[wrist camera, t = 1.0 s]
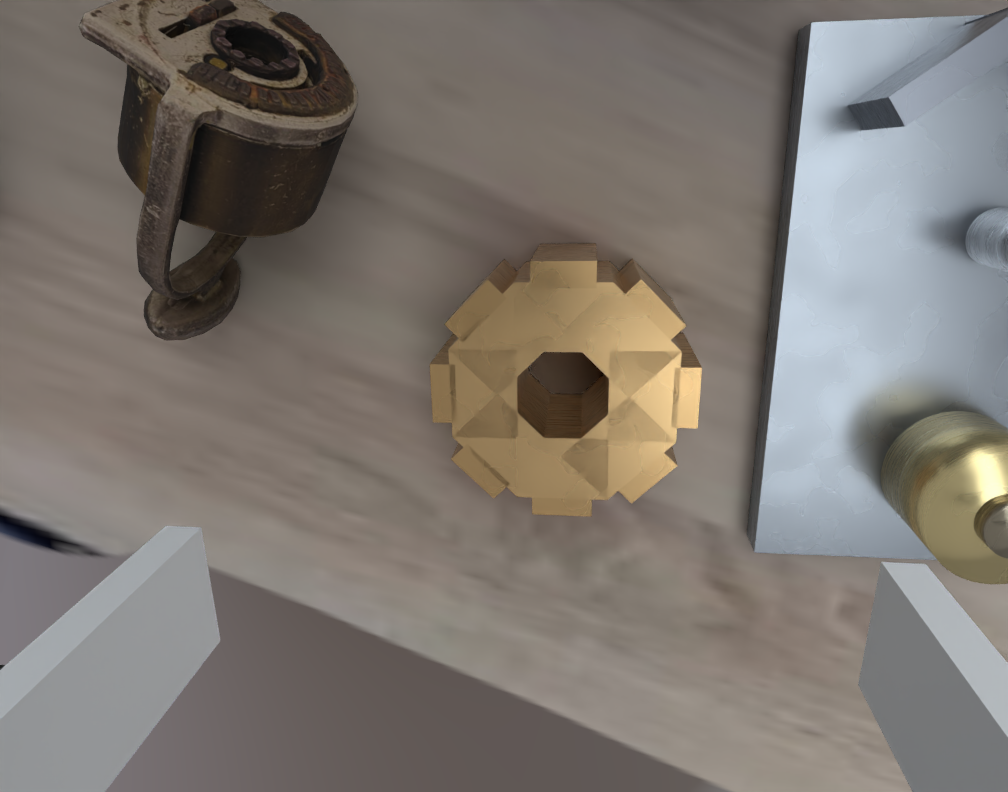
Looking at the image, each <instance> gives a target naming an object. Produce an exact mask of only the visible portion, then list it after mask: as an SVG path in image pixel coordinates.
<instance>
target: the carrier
mask: <svg viewBox="0 0 1008 792" xmlns="http://www.w3.org/2000/svg"><path fill="white" fill-rule="evenodd" d="M747 536H748V538H749V541H750V543H751V545H752V548H753V550H754V552H758V553H782V554H806V555H830V556H853V557H877V558H901V559H925V560H938V561H939V562H940V563H941V564H942V565H943V566H944V567H945V568H946V569H947V570H949V571H950V572H952V573H953V574H955V575H957V576H959V577H961V578H963V579H966V580H969V581H973V582H978V583H984V584H1007V583H1008V8H1006V9H1003V10H1000V11H997V12H995V13H992V14H989V15H975V16H951V17H927V18H903V19H880V20H856V21H832V22H811V23H810V24H808V25H806V26H805V27H803V28H801V29H800V30H799V33H798V43H797V53H796V62H795V72H794V82H793V92H792V101H791V111H790V121H789V130H788V140H787V150H786V160H785V169H784V179H783V189H782V198H781V208H780V218H779V228H778V237H777V247H776V257H775V266H774V276H773V286H772V295H771V305H770V315H769V325H768V334H767V344H766V354H765V363H764V373H763V383H762V393H761V402H760V412H759V422H758V431H757V441H756V451H755V461H754V470H753V480H752V490H751V499H750V509H749V519H748V529H747Z"/></svg>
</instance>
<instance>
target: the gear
mask: <svg viewBox="0 0 1008 792" xmlns="http://www.w3.org/2000/svg"><path fill="white" fill-rule="evenodd" d="M444 325H445V326H446V327H448V328H449V329H450V330H451V331H452V332H453V335H452V336H451V337H450V339H449V340H448V341H447V342H446V344H445V345H444V346H443V348H442V349H441V350H440V352H439V353H438V354H437V355H436V357H435V358H434V359H433V361H432V362H431V363H430V379H431V397H432V415H433V422H437V423H452V436H453V438H454V439H455V440H456V441H457V442H458V445H457V447H456V449H455V451H454V454H453V456H452V458H451V460H452V461H453V462H454V463H455V464H457V465H458V466H459V467H460V468H461V469H462V470H463V471H464V472H465V473H466V474H467V475H469V476H470V477H471V478H472V479H473V480H474V481H475V482H476V483H477V484H478V485H479V486H480V487H482V488H483V489H484V490H485V491H486V492H487V493H488V494H489V495H490V496H491V497H492V498H495V497H496V496H497V495H498V494H499V493H500V492H502V491H503V490H504V489H505V488H506V487H507V488H508V489H509V490H510V491H511V492H512V493H513V494H515V495H516V496H517V497H532V514H537V515H564V516H591V513H592V500H608V499H609V498H610V497H611V496H613V495H614V494H615V493H616V492H617V491H619V492H620V493H621V494H622V495H623V496H624V497H625V498H626V499H627V500H629V501H630V502H631V503H633V502H634V501H635V500H636V499H638V498H639V497H640V496H641V495H642V494H644V493H645V492H646V491H647V490H649V489H650V488H651V487H652V486H653V485H655V484H656V483H657V482H658V481H659V480H661V479H662V478H663V477H664V476H666V475H667V474H668V473H669V472H670V471H672V470H673V469H674V468H675V467H677V462H676V459H675V455H674V452H673V448H672V446H673V445H674V444H675V443H676V435H677V428H698V414H699V401H700V387H701V373H702V367H701V365H700V363H699V361H698V360H697V358H696V356H695V354H694V352H693V350H692V348H691V346H690V345H689V343H688V341H687V339H686V337H685V335H684V333H679V332H680V331H681V330H682V329H684V328H685V327H686V324H685V322H684V321H683V319H682V317H681V315H680V314H679V312H678V310H677V308H676V307H675V305H674V303H673V302H672V300H671V298H670V297H669V296H668V295H667V294H666V293H665V292H664V291H663V290H662V289H661V288H660V287H659V285H658V284H657V283H656V282H655V281H654V280H653V279H652V278H651V277H650V276H649V275H648V274H647V273H646V272H645V271H644V270H643V269H642V268H641V267H640V266H639V265H638V264H637V263H636V262H635V261H634V260H633V259H631V260H630V261H629V262H628V263H627V264H626V265H625V266H624V267H623V268H622V269H621V270H620V271H619V270H618V269H617V268H616V267H615V266H614V265H613V264H612V263H611V262H610V261H597V253H596V243H578V244H540V245H539V247H538V248H537V250H536V252H535V254H534V256H533V257H532V259H531V261H530V262H525V264H524V265H523V266H522V267H521V268H520V269H519V270H518V271H516V270H515V269H514V268H513V267H512V266H511V265H510V264H509V263H508V262H507V261H506V260H505V259H504V260H503V261H502V262H501V263H500V264H499V265H498V266H497V267H496V268H495V270H494V271H493V272H492V273H491V274H490V275H489V276H488V277H487V278H486V279H485V280H484V281H483V282H482V283H481V284H480V285H479V286H478V287H477V288H476V289H475V290H474V291H473V292H472V293H471V295H470V296H469V297H468V298H467V299H466V300H465V301H464V302H463V303H462V305H461V306H460V307H459V308H458V309H457V310H456V312H455V313H454V314H453V315H452V316H451V317H450V318H449V320H448V321H447V322H446V323H445V324H444ZM543 352H582V353H583V354H584V355H586V356H587V357H588V358H589V359H590V360H591V361H592V362H593V363H594V364H595V365H596V366H597V367H598V368H599V369H600V370H601V371H602V372H603V373H604V375H603V376H602V377H601V378H599V379H598V380H597V381H596V382H595V383H594V384H593V385H592V386H591V387H590V388H588V389H587V390H586V391H585V392H584V393H583V394H551V393H550V392H549V391H548V390H547V389H546V388H545V387H543V386H542V385H541V384H540V383H539V382H538V381H537V380H536V379H535V378H534V377H533V376H532V375H531V374H530V373H529V365H530V364H531V363H532V362H534V361H535V360H536V359H537V358H538V357H539V356H540V355H541V354H542V353H543Z"/></svg>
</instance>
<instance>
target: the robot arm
mask: <svg viewBox="0 0 1008 792" xmlns="http://www.w3.org/2000/svg"><path fill="white" fill-rule="evenodd" d="M219 642H220V635H219V629H218V623H217V617H216V611H215V605H214V599H213V594H212V589H211V583H210V576H209V570H208V564H207V558H206V552H205V546H204V540H203V534H202V529H201V527H181V526H165V527H164V528H163V529H162V530H160V531H159V532H158V533H157V534H156V535H155V536H154V537H152V538H151V539H150V540H149V541H148V542H147V543H146V544H144V545H143V546H142V547H141V548H140V549H139V550H138V551H136V552H135V553H134V554H133V555H132V556H131V557H129V558H128V559H127V560H126V561H125V562H124V563H123V564H121V565H120V566H119V567H118V568H117V569H116V570H115V571H114V572H112V573H111V574H110V575H109V576H108V577H106V578H105V579H104V580H103V581H102V582H101V583H100V584H98V585H97V586H96V587H95V588H94V589H93V590H92V591H90V592H89V593H88V594H87V595H86V596H85V597H84V598H82V599H81V600H80V601H79V602H78V603H77V604H76V605H74V607H72V608H71V609H70V610H69V611H67V612H66V613H65V614H64V615H63V616H62V617H61V618H59V619H58V620H57V621H56V622H55V623H54V624H53V625H51V626H50V627H49V628H48V629H47V630H46V631H44V632H43V633H42V634H41V635H40V636H39V637H38V638H36V640H34V641H33V642H32V643H31V644H29V645H28V646H27V647H26V648H25V649H24V650H23V651H21V652H20V653H19V654H18V655H17V656H16V657H15V658H13V659H12V660H11V661H10V662H9V663H8V664H7V665H0V792H105V791H106V790H107V789H108V787H109V786H110V785H111V783H112V782H113V781H114V779H115V778H116V777H117V776H118V774H119V773H120V772H121V770H122V769H123V768H124V766H125V765H126V764H127V762H128V761H129V760H130V758H131V757H132V756H133V755H134V753H135V752H136V751H137V749H138V748H139V747H140V745H141V744H142V743H143V741H144V740H145V739H146V738H147V736H148V735H149V734H150V732H151V731H152V730H153V728H154V727H155V726H156V724H157V723H158V722H159V720H160V719H161V718H162V717H163V715H164V714H165V712H166V711H167V710H168V709H169V707H170V706H171V705H172V703H173V702H174V701H175V700H176V698H177V697H178V695H179V694H180V693H181V692H182V690H183V689H184V688H185V686H186V685H187V684H188V683H189V681H190V680H191V678H192V677H193V676H194V674H195V673H196V672H197V671H198V669H199V668H200V667H201V665H202V664H203V663H204V662H205V660H206V659H207V658H208V656H209V655H210V653H211V652H212V651H213V650H214V648H215V647H216V646H217V644H218V643H219ZM858 685H859V687H860V689H861V691H862V693H863V695H864V697H865V699H866V701H867V703H868V705H869V707H870V709H871V711H872V713H873V715H874V717H875V719H876V721H877V723H878V725H879V727H880V729H881V731H882V733H883V734H884V736H885V738H886V740H887V742H888V744H889V746H890V748H891V750H892V752H893V754H894V756H895V758H896V760H897V762H898V764H899V766H900V768H901V770H902V772H903V774H904V776H905V778H906V780H907V782H908V784H909V786H910V787H911V789H912V791H913V792H1008V663H1007V662H1006V661H1005V659H1004V658H1003V657H1002V656H1001V655H1000V653H999V652H998V651H997V650H996V648H995V647H994V646H993V645H992V644H991V642H990V641H989V640H988V639H987V638H986V636H985V635H984V634H983V633H982V632H981V630H980V629H979V628H978V627H977V625H976V624H975V623H974V622H973V621H972V619H971V618H970V617H969V616H968V615H967V613H966V612H965V611H964V610H963V609H962V607H961V606H960V605H959V604H958V602H957V601H956V600H955V599H954V598H953V596H952V595H951V594H950V593H949V592H948V590H947V589H946V588H945V587H944V586H943V584H942V583H941V582H940V581H939V579H938V578H937V577H936V576H935V575H934V573H933V572H932V571H931V570H930V569H929V567H928V566H927V565H926V564H915V563H895V562H881V565H880V571H879V576H878V582H877V587H876V592H875V598H874V603H873V608H872V614H871V619H870V625H869V630H868V635H867V641H866V646H865V651H864V657H863V662H862V667H861V673H860V678H859V684H858Z"/></svg>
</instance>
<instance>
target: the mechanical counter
mask: <svg viewBox="0 0 1008 792" xmlns="http://www.w3.org/2000/svg"><path fill="white" fill-rule="evenodd" d="M79 29H80V31H81V33H82V35H83V36H84V37H85V38H86V39H88V40H90V41H92V42H94V43H95V44H97V45H99V46H101V47H103V48H104V49H106V50H107V51H109V52H110V53H112V54H113V55H115V56H116V57H118V58H119V59H121V60H122V61H123V62H125V63H126V64H127V79H126V86H125V92H124V98H123V105H122V112H121V120H120V127H119V134H118V154H119V159H120V162H121V163H122V165H123V167H124V169H125V171H126V173H127V174H128V176H129V177H130V178H131V180H132V181H133V182H134V184H135V185H136V186H137V187H138V188H139V189H140V191H141V192H142V193H143V194H144V195H145V197H144V202H143V206H142V210H141V215H140V220H139V227H138V234H137V257H138V267H139V272H140V274H141V276H142V277H143V278H144V279H145V281H146V282H147V283H148V284H149V285H150V286H151V287H152V288H153V290H152V291H151V293H150V294H149V296H148V297H147V299H146V300H145V305H144V318H145V320H146V323H147V326H148V328H149V329H150V330H151V331H152V332H153V334H154V335H155V336H156V337H159V338H161V339H164V340H185V339H188V338H191V337H194V336H197V335H200V334H204V333H205V332H207V331H208V330H210V329H212V328H213V327H215V326H216V325H218V324H220V323H221V322H222V321H223V320H224V318H225V317H226V316H227V315H228V313H229V312H230V311H231V310H232V308H233V306H234V304H235V302H236V299H237V297H238V293H239V287H240V274H241V271H240V268H239V266H238V264H237V261H235V260H234V259H232V257H233V256H234V254H235V253H236V252H237V251H238V249H239V248H240V247H241V245H242V244H243V243H244V241H245V240H246V239H247V237H266V236H271V235H277V234H282V233H287V232H291V231H293V230H295V229H296V228H298V227H300V226H301V225H303V224H304V223H305V222H306V221H307V220H308V219H309V218H310V217H311V216H312V215H313V213H314V212H315V210H316V208H317V206H318V203H319V201H320V198H321V196H322V193H323V191H324V188H325V186H326V183H327V180H328V178H329V175H330V172H331V170H332V167H333V164H334V162H335V159H336V156H337V154H338V151H339V148H340V146H341V143H342V141H343V139H344V136H345V134H346V131H347V128H348V127H349V126H350V124H351V121H352V119H353V116H354V113H355V110H356V107H357V101H358V92H357V89H356V87H355V84H354V82H353V80H352V78H351V76H350V74H349V72H348V70H347V69H346V67H345V65H344V64H343V62H342V61H341V60H340V59H339V57H338V56H337V55H336V54H335V52H334V51H333V50H332V48H331V47H330V46H329V44H328V43H327V42H326V41H325V40H324V38H323V37H322V36H321V34H318V33H315V32H314V31H313V30H312V29H311V28H310V27H309V25H307V24H306V23H305V22H303V21H302V20H301V19H299V18H298V17H296V16H295V15H292V14H289V13H286V12H280V13H277V12H275V11H274V10H272V9H270V8H269V7H267V6H266V5H264V4H263V3H261V2H260V1H258V0H117V1H114V2H111V3H109V4H106V5H104V6H101V7H99V8H96V9H94V10H91V11H89V12H86V13H84V15H83V18H82V20H81V22H80V25H79ZM179 219H181V220H183V221H185V222H188V223H190V224H193V225H196V226H199V227H202V228H206V229H209V230H212V231H215V232H216V233H215V234H214V236H213V237H212V239H211V240H210V241H209V243H208V244H207V245H206V246H205V247H204V248H203V249H202V250H201V251H200V252H199V253H198V254H197V255H196V256H194V257H192V258H191V259H189V260H188V261H186V262H185V263H182V264H181V265H179V266H178V267H176V268H175V269H173V270H171V271H169V269H170V259H171V251H172V246H173V241H174V236H175V231H176V227H177V224H178V221H179Z"/></svg>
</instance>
